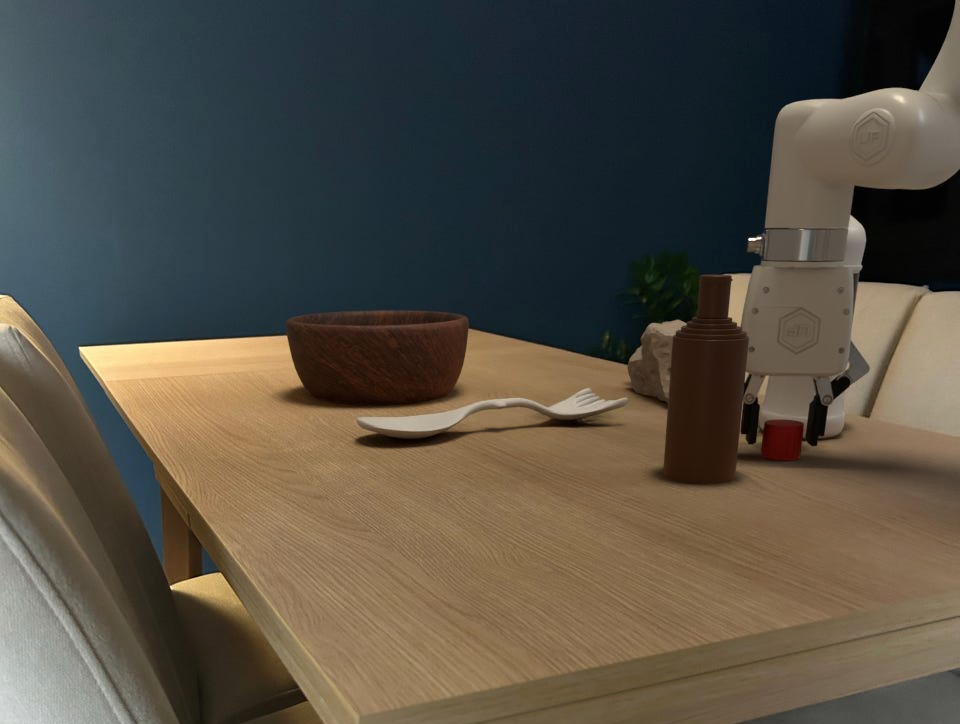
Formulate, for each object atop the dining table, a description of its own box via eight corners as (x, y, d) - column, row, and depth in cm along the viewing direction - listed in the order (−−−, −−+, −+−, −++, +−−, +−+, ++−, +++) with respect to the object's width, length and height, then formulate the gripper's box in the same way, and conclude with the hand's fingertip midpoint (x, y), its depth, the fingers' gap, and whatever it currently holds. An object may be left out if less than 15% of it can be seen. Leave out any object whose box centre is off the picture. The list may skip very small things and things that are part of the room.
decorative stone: (728, 409, 124) (736, 328, 120) (673, 412, 122) (679, 329, 118) (666, 386, 142) (671, 314, 138) (617, 388, 140) (621, 316, 136)
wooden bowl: (322, 379, 150) (317, 309, 146) (482, 382, 146) (481, 310, 142) (264, 407, 127) (257, 325, 123) (451, 411, 123) (450, 327, 119)
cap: (767, 460, 97) (771, 426, 96) (755, 452, 101) (759, 419, 99) (805, 460, 97) (809, 426, 96) (792, 452, 101) (796, 419, 99)
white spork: (629, 424, 115) (630, 395, 113) (374, 451, 102) (373, 417, 101) (588, 412, 122) (589, 384, 121) (347, 435, 109) (345, 404, 108)
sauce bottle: (729, 477, 91) (749, 273, 84) (738, 494, 85) (761, 277, 78) (660, 475, 92) (674, 273, 84) (665, 493, 86) (680, 277, 79)
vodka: (760, 439, 107) (793, 133, 95) (755, 423, 115) (786, 140, 103) (848, 442, 105) (893, 131, 93) (837, 426, 113) (877, 138, 102)
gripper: (713, 251, 89) (696, 448, 96) (909, 251, 87) (877, 453, 94) (707, 249, 96) (692, 433, 103) (889, 249, 93) (860, 437, 101)
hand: (780, 440), depth 98 cm, fingers open, 5 cm apart
